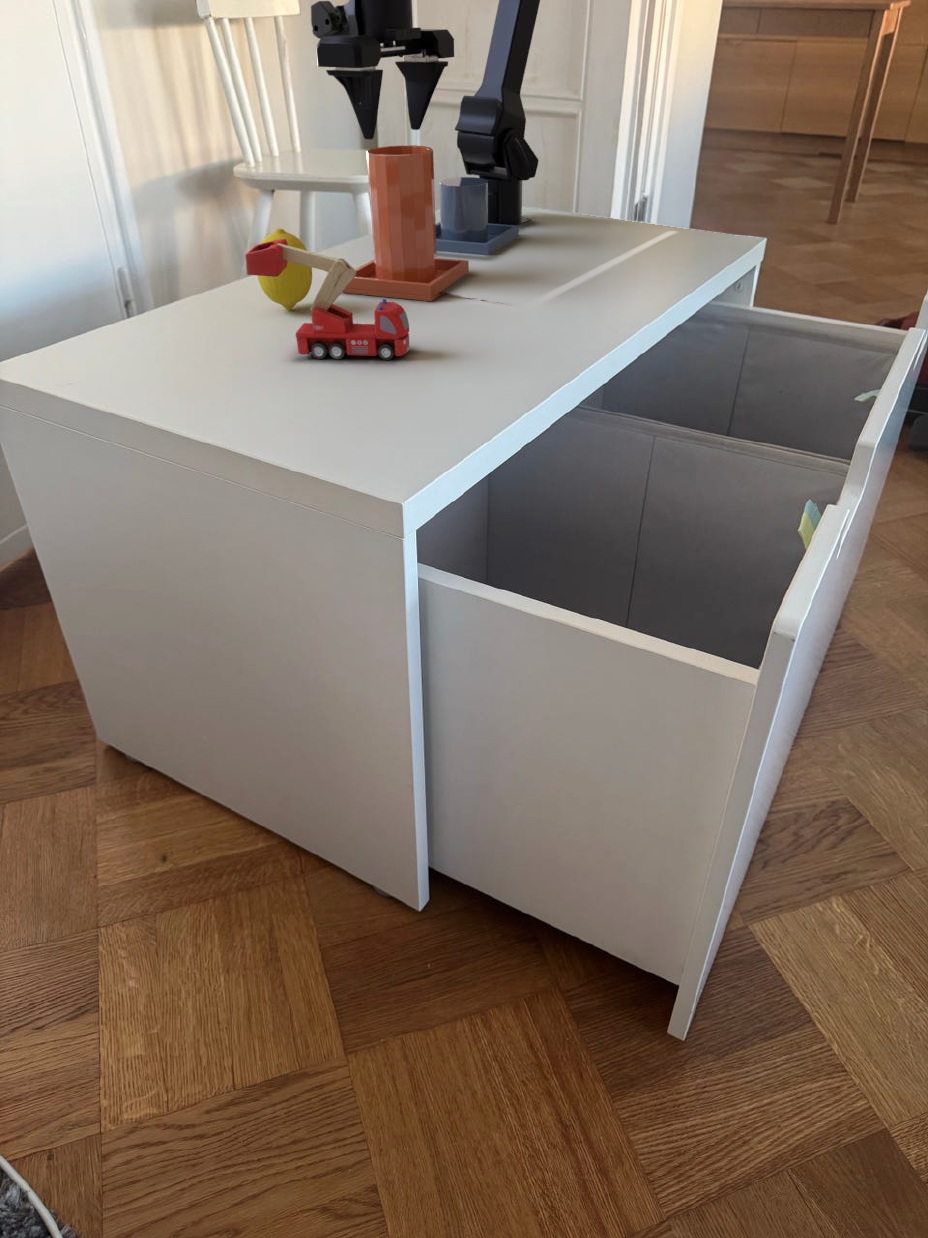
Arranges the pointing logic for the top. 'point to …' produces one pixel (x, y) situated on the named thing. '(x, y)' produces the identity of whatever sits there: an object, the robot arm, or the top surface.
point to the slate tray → (496, 240)
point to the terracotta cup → (403, 212)
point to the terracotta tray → (430, 291)
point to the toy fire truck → (334, 307)
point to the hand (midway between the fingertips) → (392, 134)
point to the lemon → (287, 276)
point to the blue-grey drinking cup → (464, 209)
